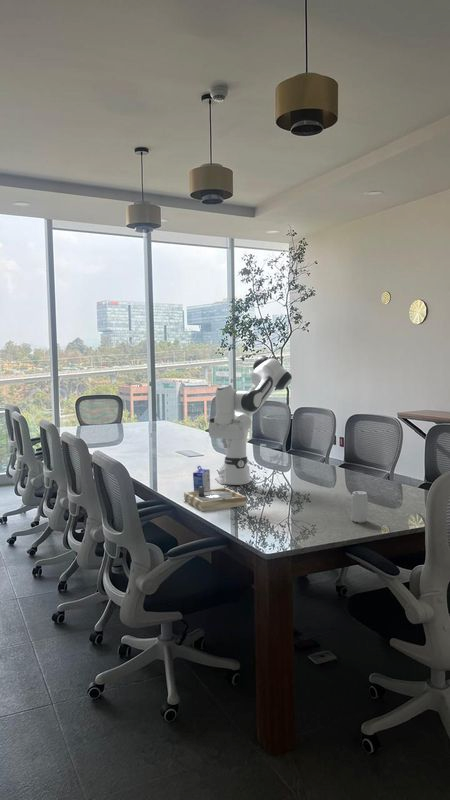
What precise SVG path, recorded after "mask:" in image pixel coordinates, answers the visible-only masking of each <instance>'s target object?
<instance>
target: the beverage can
mask: <svg viewBox="0 0 450 800" xmlns="http://www.w3.org/2000/svg"><path fill="white" fill-rule="evenodd" d="M368 497H369V496H368V493H367V492H366V491H363V490H355V491H352V494H351V515H350V516H351V518H350V519H351V520H352V522H353V521H354V523H356V522H358V523H357V524H364V523H366V522H367V521H368V515H369V513H368V507H369V506H368V505H369V504H368V503H369V501H368ZM363 522H364V523H363Z"/></svg>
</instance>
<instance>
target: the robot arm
mask: <svg viewBox="0 0 450 800" xmlns="http://www.w3.org/2000/svg"><path fill="white" fill-rule="evenodd" d="M252 366H253V367H252V369H253V371H252V372H251V375H250V376H251V377H250V378H251V382H252V385H251V386H250V388H248V389H247V390H238V389H235V388H234V387H233V385H231V384H223V385H222V384H221V385H218V387H217V388H216V390H215V406H216V411H215V416H212V417H209V419H208V423H209V425H208V436H209V437H210V438H215V439H220V440H221V443H222V445H223V449H225V457H224V462H223V463H224V464H222V466H221V467H220V468H219V470H218V472H217V474H218V475H219V476H215V479H214V480H215V481H216V482H218V483H219V484H221V485H233V486H234V485H236V486H237V485H239V486H241V485H246V484H250V483H251V482H252V481H253V478H251V470H250V466H249V465H248V456H247V440H248V435H249V429H250V428H251V427H252V419H251V416H252V415H254V414H256V412H258V411H259V409H260V408H261V407H262V406H263V404H264V403H265V402H266V401H267V400H268V398H269V397H270V396H271V394H272V392H273V390H274V391H278V390H279V391H281V390H284V389H286V388H288V386H289V385H290V384H291V381H292V377H293V376H292V374H291V373H290V372H289V371H287V370H286V369H285V368H284V367H283V366H282V365H281V362H280V361H279V360H278V359H276V358H270V357H268V356H266V355H260V356H259V357H258V358H256V360H255V361H254V363H253V365H252Z"/></svg>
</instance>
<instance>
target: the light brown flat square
mask: <svg viewBox="0 0 450 800" xmlns="http://www.w3.org/2000/svg"><path fill="white" fill-rule="evenodd" d="M208 491H224V492H229V493H231V494H232V497H233V498H227V499H225V498H223V499H219V500H211V501H202V500H200V499H198V498H197V494H198V491H194V490H192V491H186V492H185V491H184V493H183V495H184V496H183V498H184V499H183V500H185V501H184V502H186V503H187V502H188V503H187V504H189V503H190V504H189V505H191V506H192V505H193V506H192V507H194V506H195V507H194V508H196V509H197V508H198V509H197V510H199V511H201V512H205V511H213V510H220V509H221V510H223V509H230V508H236V507H238V508H239V507H245V506H247V496H245V495H243V494H241V493H239V492H237V491H235V490H232V489H230V488H227V487H222V488H221V487H219V488H212V489H211V488H210V490H204V492H208Z"/></svg>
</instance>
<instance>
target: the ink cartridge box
mask: <svg viewBox="0 0 450 800" xmlns="http://www.w3.org/2000/svg"><path fill="white" fill-rule="evenodd" d="M196 468H197V470H196V471H194V472H192V478H193V491H198V487H199V486H204V490H210V489H211V478H210V477H211V476H210V475H211V474H210V472H211V471H210V470H211V469H209V468H208V469H205V468H202V466H201V465H198V466H197V467H196Z"/></svg>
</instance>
